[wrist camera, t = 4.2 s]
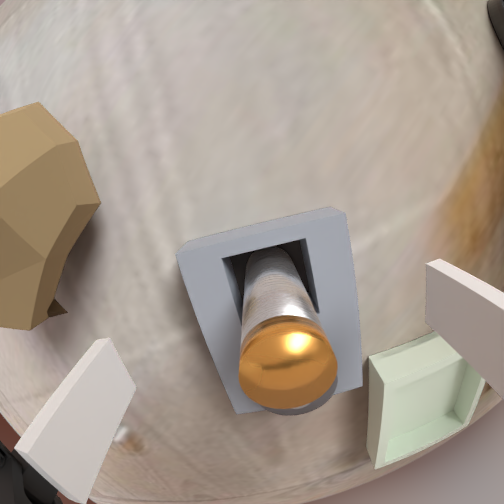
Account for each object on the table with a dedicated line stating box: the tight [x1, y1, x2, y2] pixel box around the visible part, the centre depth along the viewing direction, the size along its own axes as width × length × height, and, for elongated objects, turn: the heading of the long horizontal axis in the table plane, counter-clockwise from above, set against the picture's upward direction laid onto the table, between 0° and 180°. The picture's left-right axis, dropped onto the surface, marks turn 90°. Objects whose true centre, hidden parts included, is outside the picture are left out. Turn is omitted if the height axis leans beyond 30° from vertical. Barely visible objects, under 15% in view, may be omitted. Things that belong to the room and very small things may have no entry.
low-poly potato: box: [0, 102, 101, 330], centre depth 12 cm, size 15×11×12 cm
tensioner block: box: [175, 207, 363, 415], centre depth 16 cm, size 12×9×6 cm
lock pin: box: [238, 246, 338, 409], centre depth 13 cm, size 3×3×10 cm
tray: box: [366, 331, 486, 470], centre depth 19 cm, size 14×12×4 cm
